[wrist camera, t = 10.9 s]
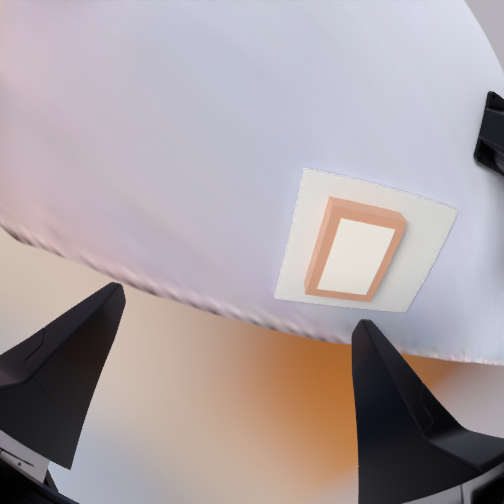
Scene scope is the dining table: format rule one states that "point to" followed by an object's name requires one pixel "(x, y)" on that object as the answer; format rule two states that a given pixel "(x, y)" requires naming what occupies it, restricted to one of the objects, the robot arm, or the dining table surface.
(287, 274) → the mat
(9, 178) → the dining table surface
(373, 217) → the tile
